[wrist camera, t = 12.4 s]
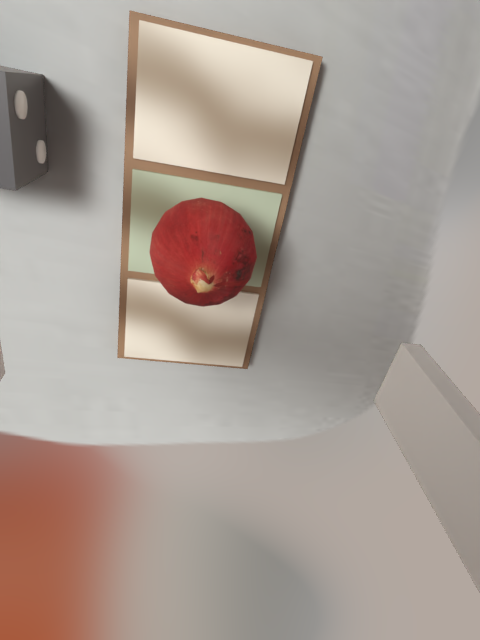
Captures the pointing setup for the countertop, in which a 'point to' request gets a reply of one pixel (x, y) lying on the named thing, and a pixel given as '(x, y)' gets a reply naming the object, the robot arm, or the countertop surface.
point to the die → (21, 128)
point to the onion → (203, 252)
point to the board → (205, 174)
